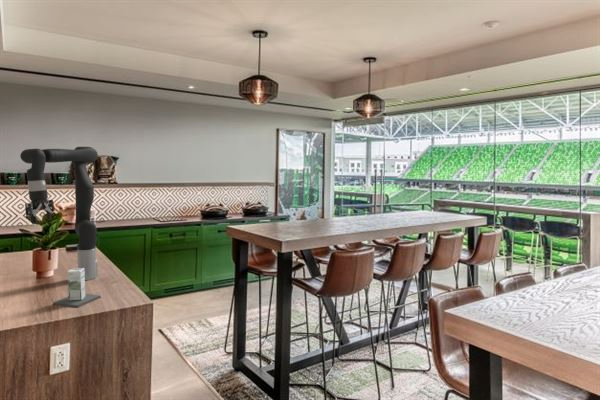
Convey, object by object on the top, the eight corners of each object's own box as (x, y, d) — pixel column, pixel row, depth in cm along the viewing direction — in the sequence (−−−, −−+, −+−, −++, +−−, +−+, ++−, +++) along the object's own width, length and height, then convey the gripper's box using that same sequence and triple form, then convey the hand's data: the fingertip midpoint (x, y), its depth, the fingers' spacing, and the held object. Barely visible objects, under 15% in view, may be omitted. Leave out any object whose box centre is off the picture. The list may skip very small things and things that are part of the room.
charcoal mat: (77, 294, 193) (77, 292, 193) (100, 297, 190) (100, 295, 190) (53, 304, 180) (53, 302, 180) (78, 307, 177) (78, 305, 176)
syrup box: (85, 296, 188) (84, 267, 187) (81, 300, 183) (80, 270, 181) (73, 297, 187) (71, 267, 186) (68, 301, 181) (67, 271, 180)
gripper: (31, 191, 181) (35, 225, 183) (56, 188, 195) (60, 219, 197) (18, 191, 183) (22, 225, 185) (43, 188, 196) (47, 219, 199)
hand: (42, 222), depth 191 cm, fingers open, 8 cm apart
